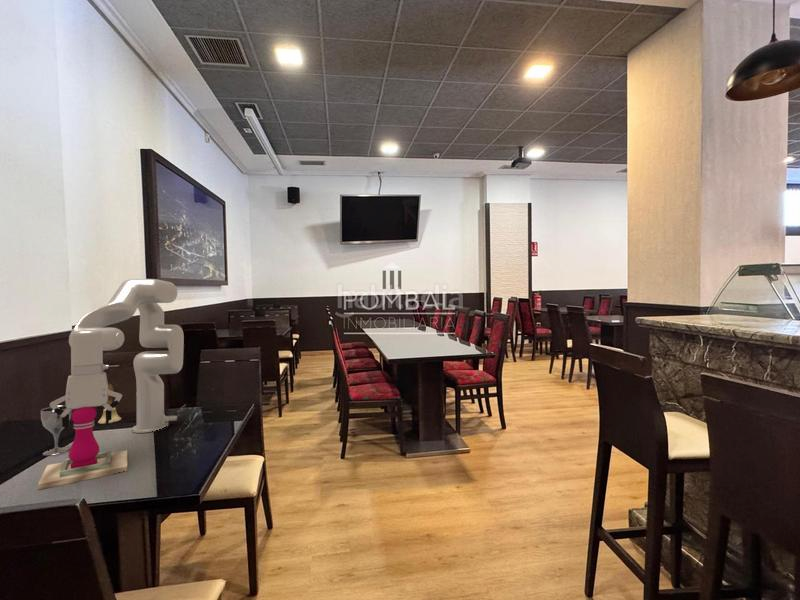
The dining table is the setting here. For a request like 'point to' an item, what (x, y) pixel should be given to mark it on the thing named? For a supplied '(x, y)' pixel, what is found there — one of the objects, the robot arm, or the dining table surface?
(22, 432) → the dining table surface
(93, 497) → the dining table surface
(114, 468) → the board
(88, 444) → the pepper mill
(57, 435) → the wine glass
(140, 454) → the dining table surface
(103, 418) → the hand bell
